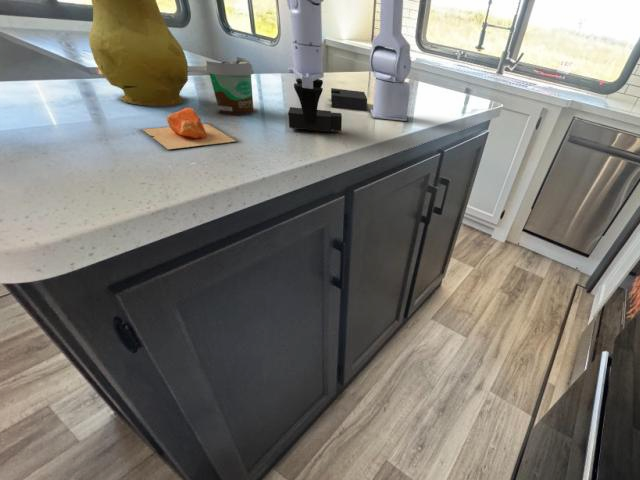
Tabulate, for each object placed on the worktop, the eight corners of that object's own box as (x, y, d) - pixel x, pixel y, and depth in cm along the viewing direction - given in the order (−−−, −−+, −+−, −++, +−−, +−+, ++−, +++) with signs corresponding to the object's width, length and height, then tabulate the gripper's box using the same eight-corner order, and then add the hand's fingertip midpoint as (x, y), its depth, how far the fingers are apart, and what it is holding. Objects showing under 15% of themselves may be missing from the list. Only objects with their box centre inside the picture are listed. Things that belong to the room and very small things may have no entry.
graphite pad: (363, 103, 104) (364, 91, 102) (366, 110, 97) (367, 99, 95) (331, 99, 102) (331, 88, 100) (331, 107, 95) (331, 95, 93)
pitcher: (97, 105, 69) (33, -72, 53) (118, 90, 82) (72, -55, 67) (193, 112, 75) (160, -45, 60) (198, 97, 88) (172, -34, 73)
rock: (168, 150, 57) (160, 123, 54) (142, 130, 62) (132, 104, 60) (236, 141, 64) (232, 117, 61) (207, 123, 70) (202, 100, 67)
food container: (241, 119, 75) (232, 66, 69) (215, 114, 75) (204, 61, 69) (268, 109, 84) (262, 61, 78) (245, 104, 85) (238, 56, 78)
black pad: (340, 126, 79) (341, 112, 77) (341, 132, 75) (341, 117, 73) (291, 121, 76) (289, 106, 74) (289, 127, 73) (288, 112, 71)
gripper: (289, 37, 70) (294, 109, 79) (282, 44, 60) (289, 127, 68) (323, 42, 72) (324, 112, 81) (323, 50, 61) (324, 130, 70)
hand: (310, 119), depth 75 cm, fingers closed on black pad, 5 cm apart
